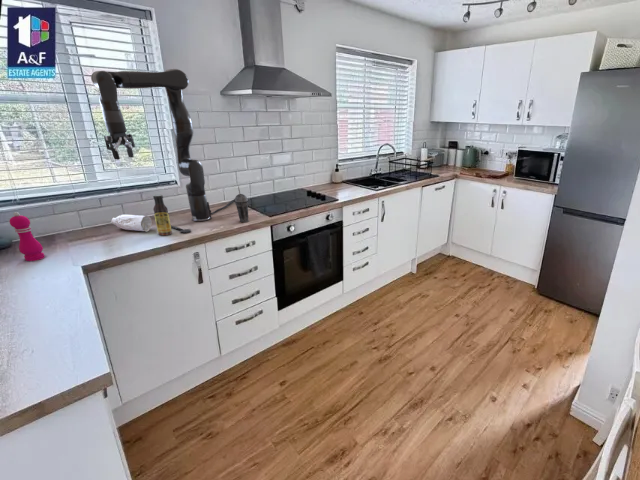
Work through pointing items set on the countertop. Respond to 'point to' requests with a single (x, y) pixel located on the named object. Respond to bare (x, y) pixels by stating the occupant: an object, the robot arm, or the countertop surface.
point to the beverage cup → (242, 207)
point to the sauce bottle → (161, 216)
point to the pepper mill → (26, 238)
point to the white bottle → (133, 222)
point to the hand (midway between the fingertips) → (124, 158)
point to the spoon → (181, 230)
